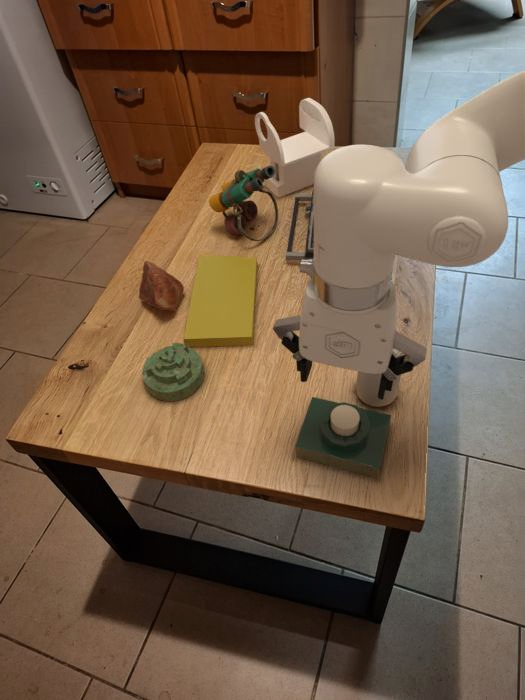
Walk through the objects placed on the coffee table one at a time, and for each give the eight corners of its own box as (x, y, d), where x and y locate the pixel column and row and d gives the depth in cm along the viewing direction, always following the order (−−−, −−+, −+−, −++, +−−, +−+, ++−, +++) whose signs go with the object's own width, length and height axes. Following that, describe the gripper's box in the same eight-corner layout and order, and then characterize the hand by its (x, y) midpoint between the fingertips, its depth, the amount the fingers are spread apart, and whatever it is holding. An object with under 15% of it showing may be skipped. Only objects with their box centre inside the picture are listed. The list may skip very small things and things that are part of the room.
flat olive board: (253, 344, 86) (258, 259, 101) (251, 336, 84) (257, 250, 100) (186, 347, 87) (201, 261, 102) (183, 339, 85) (199, 253, 101)
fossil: (176, 313, 88) (144, 266, 84) (141, 330, 91) (109, 285, 87) (197, 288, 98) (171, 245, 95) (166, 304, 102) (139, 263, 98)
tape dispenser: (283, 202, 114) (279, 127, 101) (257, 180, 122) (250, 106, 108) (333, 183, 118) (335, 107, 104) (305, 162, 126) (303, 89, 112)
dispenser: (389, 425, 73) (393, 407, 69) (378, 478, 67) (381, 461, 64) (312, 407, 76) (311, 388, 72) (295, 456, 71) (294, 439, 67)
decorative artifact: (150, 357, 86) (142, 403, 79) (139, 330, 81) (130, 377, 74) (206, 352, 85) (202, 399, 79) (198, 325, 80) (194, 373, 74)
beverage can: (358, 373, 80) (364, 323, 70) (398, 380, 78) (409, 329, 69) (352, 405, 76) (357, 356, 67) (394, 412, 74) (405, 363, 65)
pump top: (361, 416, 69) (362, 408, 67) (355, 440, 67) (356, 432, 65) (334, 409, 70) (334, 401, 68) (327, 432, 68) (327, 425, 66)
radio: (388, 247, 92) (284, 246, 95) (385, 269, 96) (285, 267, 99) (384, 179, 107) (295, 180, 110) (382, 200, 111) (296, 200, 114)
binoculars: (263, 223, 115) (228, 168, 108) (309, 207, 105) (273, 144, 98) (234, 258, 107) (194, 201, 100) (281, 243, 98) (240, 179, 91)
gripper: (256, 288, 48) (269, 389, 61) (438, 320, 43) (409, 422, 56) (280, 242, 52) (286, 346, 65) (447, 267, 47) (418, 373, 60)
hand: (343, 381), depth 60 cm, fingers open, 9 cm apart
